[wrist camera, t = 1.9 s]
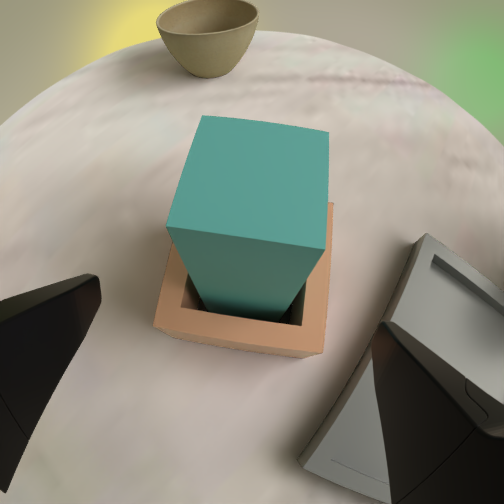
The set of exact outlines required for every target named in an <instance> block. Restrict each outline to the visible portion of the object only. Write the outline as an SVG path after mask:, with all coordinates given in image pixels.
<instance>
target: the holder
mask: <svg viewBox="0 0 504 504" xmlns="http://www.w3.org/2000/svg"><path fill="white" fill-rule="evenodd" d="M332 226H333V203H329V202H328V211H327V233H326V250H325V251H324V253H323V255H322V256H321V258H320V259H319V261H318V262H317V264H316V266H315V267H314V269H313V270H312V272H311V273H310V275H309V277H308V278H307V280H306V281H305V283H304V284H303V286H302V287H301V289H300V290H299V292H298V293H297V295H296V296H295V298H294V299H293V301H292V306H291V314H290V323H289V324H281V323H274V322H267V321H260V320H253V319H247V318H240V317H234V316H228V315H222V314H216V313H210V312H204V311H198V305H199V300H200V295H199V293H198V291H197V289H196V287H195V285H194V283H193V281H192V279H191V277H190V275H189V273H188V271H187V269H186V267H185V265H184V263H183V261H182V259H181V257H180V255H179V253H178V251H177V249H176V247H175V245H174V243H173V242H172V246H171V250H170V254H169V258H168V262H167V266H166V270H165V274H164V278H163V282H162V286H161V291H160V295H159V299H158V304H157V308H156V313H155V317H154V322H153V326H154V327H155V328H157V329H159V330H161V331H162V332H164V333H166V334H168V335H169V336H171V337H173V338H176V339H181V340H186V341H191V342H197V343H202V344H208V345H213V346H219V347H225V348H231V349H237V350H243V351H250V352H257V353H264V354H271V355H279V356H287V357H295V358H307V357H310V356H314V355H317V354H321V353H323V347H324V338H325V328H326V318H327V306H328V294H329V281H330V266H331V248H332Z"/></svg>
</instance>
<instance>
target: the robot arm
mask: <svg viewBox="0 0 504 504" xmlns="http://www.w3.org/2000/svg"><path fill="white" fill-rule="evenodd" d="M101 299H102V298H101V289H100V281H99V278H98V276H96V275H92V274H83V275H80V276H77V277H74V278H70V279H67V280H64V281H61V282H57V283H54V284H51V285H48V286H45V287H41V288H38V289H35V290H32V291H29V292H26V293H22V294H19V295H16V296H13V297H10V298H7V299H4V300H2V301H0V490H1V491H2V492H4V493H6V492H7V490H8V488H9V485H10V483H11V480H12V478H13V476H14V473H15V471H16V468H17V466H18V464H19V462H20V459H21V457H22V455H23V453H24V451H25V448H26V446H27V444H28V442H29V439H30V437H31V435H32V433H33V431H34V429H35V427H36V425H37V423H38V421H39V419H40V417H41V415H42V413H43V411H44V409H45V407H46V405H47V404H48V402H49V400H50V398H51V396H52V394H53V392H54V390H55V389H56V387H57V385H58V383H59V381H60V380H61V378H62V376H63V374H64V372H65V371H66V369H67V367H68V365H69V364H70V362H71V360H72V358H73V357H74V355H75V353H76V352H77V350H78V348H79V347H80V345H81V343H82V341H83V340H84V338H85V336H86V334H87V332H88V329H89V327H90V325H91V323H92V321H93V319H94V317H95V315H96V313H97V311H98V309H99V307H100V304H101ZM371 353H372V364H373V376H374V387H375V393H376V399H377V404H378V410H379V416H380V421H381V427H382V434H383V440H384V447H385V454H386V461H387V469H388V477H389V486H390V495H391V504H504V404H502V403H501V402H499V401H498V400H496V399H495V398H493V397H492V396H491V395H489V394H488V393H486V392H485V391H484V390H482V389H481V388H480V387H478V386H477V385H476V384H474V383H473V382H472V381H471V380H469V379H468V378H466V377H465V376H464V375H463V374H462V373H460V372H459V371H458V370H456V369H455V368H454V367H453V366H451V365H450V364H449V363H447V362H446V361H445V360H443V359H442V358H441V357H440V356H438V355H437V354H436V353H434V352H433V351H432V350H430V349H429V348H428V347H426V346H425V345H424V344H422V343H421V342H420V341H419V340H417V339H416V338H415V337H413V336H412V335H411V334H409V333H408V332H407V331H405V330H404V329H403V328H401V327H400V326H399V325H397V324H396V323H395V322H392V321H381V322H380V323H379V325H378V328H377V330H376V333H375V335H374V338H373V340H372V344H371Z"/></svg>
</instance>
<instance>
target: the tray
mask: <svg viewBox="0 0 504 504" xmlns="http://www.w3.org/2000/svg"><path fill="white" fill-rule="evenodd" d="M381 321H392V322H395V323H396V324H397V325H399V326H400V327H401V328H403V329H404V330H405V331H407V332H408V333H409V334H411V335H412V336H413V337H415V338H416V339H417V340H419V341H420V342H421V343H422V344H424V345H425V346H426V347H428V348H429V349H430V350H432V351H433V352H434V353H436V354H437V355H438V356H440V357H441V358H442V359H443V360H445V361H446V362H447V363H449V364H450V365H451V366H453V367H454V368H455V369H456V370H458V371H459V372H460V373H462V374H463V375H464V376H465V377H466V378H468V379H469V380H471V381H472V382H473V383H474V384H476V385H477V386H478V387H480V388H481V389H482V390H484V391H485V392H486V393H488V394H489V395H491V396H492V397H493V398H495V399H496V400H498V401H499V402H501V403H502V404H504V292H503V291H502V290H501V289H499V288H498V287H497V286H496V285H495V284H493V283H492V282H491V281H490V280H489V279H487V278H486V277H485V276H484V275H482V274H481V273H480V272H479V271H477V270H476V269H475V268H474V267H472V266H471V265H470V264H468V263H467V262H466V261H465V260H463V259H462V258H461V257H459V256H458V255H457V254H455V253H454V252H453V251H451V250H450V249H449V248H447V247H446V246H445V245H443V244H442V243H440V242H439V241H438V240H436V239H435V238H433V237H432V236H431V235H429V234H428V233H425V234H424V235H423V236H422V237H421V238H420V239H419V240H418V241H416V242H415V243H414V246H413V248H412V251H411V253H410V256H409V258H408V261H407V263H406V266H405V268H404V270H403V273H402V275H401V277H400V280H399V282H398V284H397V287H396V289H395V291H394V293H393V296H392V298H391V300H390V302H389V304H388V306H387V309H386V311H385V313H384V315H383V317H382V319H381ZM381 321H380V322H381ZM377 328H378V327H377ZM376 330H377V329H376ZM375 333H376V331H375ZM375 333H374V335H375ZM374 335H373V337H372V339H371V341H370V343H369V345H368V347H367V348H366V350H365V352H364V354H363V356H362V358H361V360H360V361H359V363H358V365H357V367H356V369H355V370H354V372H353V374H352V376H351V377H350V379H349V381H348V383H347V384H346V386H345V388H344V389H343V391H342V393H341V394H340V396H339V398H338V399H337V401H336V402H335V404H334V406H333V407H332V409H331V410H330V412H329V414H328V415H327V417H326V418H325V420H324V421H323V423H322V424H321V426H320V427H319V429H318V430H317V432H316V433H315V435H314V436H313V438H312V439H311V441H310V442H309V443H308V445H307V446H306V448H305V449H304V451H303V452H302V453H301V455H300V456H299V457H298V459H297V461H298V462H299V464H300V465H301V467H302V468H303V469H305V470H308V471H310V472H312V473H314V474H316V475H318V476H320V477H322V478H325V479H327V480H329V481H331V482H334V483H336V484H338V485H341V486H343V487H345V488H348V489H350V490H353V491H355V492H358V493H360V494H363V495H365V496H368V497H371V498H374V499H376V500H379V501H382V502H385V503H388V504H391V495H390V486H389V477H388V469H387V461H386V454H385V447H384V440H383V434H382V427H381V421H380V416H379V410H378V404H377V399H376V393H375V387H374V376H373V364H372V353H371V344H372V340H373V338H374Z"/></svg>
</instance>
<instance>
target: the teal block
mask: <svg viewBox="0 0 504 504" xmlns="http://www.w3.org/2000/svg"><path fill="white" fill-rule="evenodd" d="M328 177H329V132H325V131H319V130H314V129H308V128H303V127H297V126H290V125H284V124H277V123H270V122H263V121H255V120H246V119H237V118H227V117H216V116H204V115H202V117H201V120H200V123H199V126H198V128H197V131H196V134H195V137H194V139H193V142H192V145H191V148H190V151H189V154H188V157H187V159H186V162H185V165H184V168H183V171H182V174H181V178H180V181H179V184H178V187H177V190H176V193H175V196H174V200H173V203H172V206H171V210H170V213H169V216H168V220H167V223H166V228H167V230H168V232H169V234H170V236H171V238H172V240H173V243H174V245H175V247H176V249H177V251H178V253H179V255H180V257H181V259H182V261H183V263H184V265H185V267H186V269H187V271H188V273H189V275H190V277H191V279H192V281H193V283H194V285H195V287H196V289H197V291H198V293H199V295H200V297H201V299H202V301H203V303H204V305H205V307H206V309H207V310H208V312H210V313H216V314H222V315H228V316H234V317H240V318H247V319H253V320H260V321H267V322H274V323H278V322H279V320H280V319H281V317H282V316H283V314H284V313H285V311H286V310H287V308H288V307H289V305H290V304H291V302H292V301H293V299H294V298H295V296H296V295H297V293H298V292H299V290H300V289H301V287H302V286H303V284H304V283H305V281H306V280H307V278H308V277H309V275H310V273H311V272H312V270H313V269H314V267H315V266H316V264H317V262H318V261H319V259H320V258H321V256H322V255H323V253H324V251H325V250H326V233H327V211H328Z"/></svg>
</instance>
